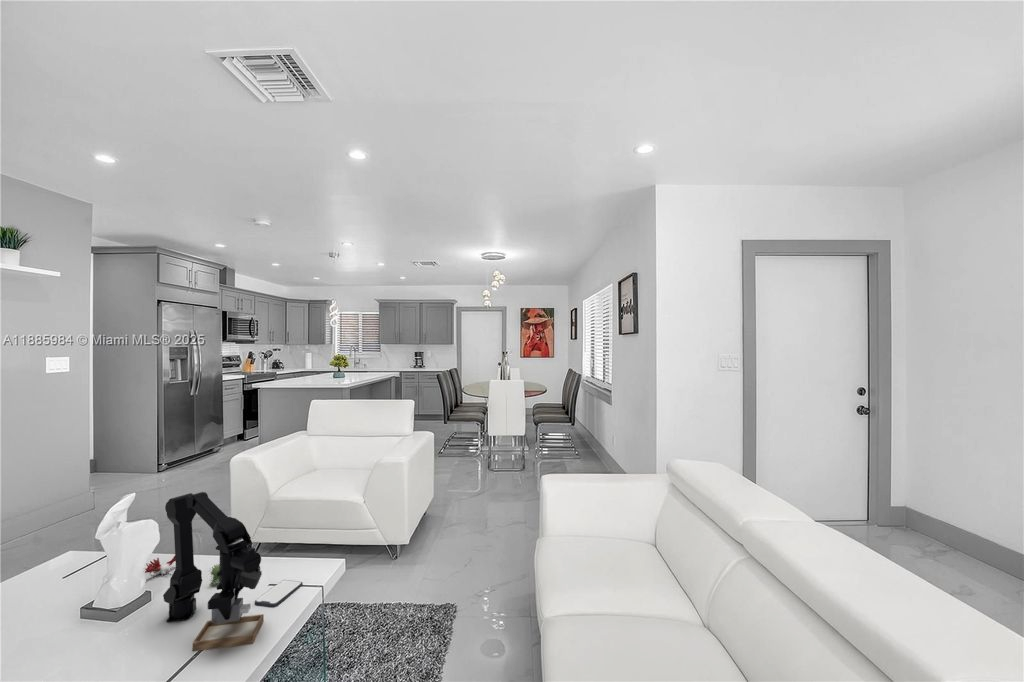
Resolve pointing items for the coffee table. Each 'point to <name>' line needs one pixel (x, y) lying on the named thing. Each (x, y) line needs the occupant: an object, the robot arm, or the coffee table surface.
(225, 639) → the tray
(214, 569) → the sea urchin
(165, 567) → the figurine
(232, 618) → the plug
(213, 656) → the coffee table surface
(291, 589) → the phone case
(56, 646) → the coffee table surface
